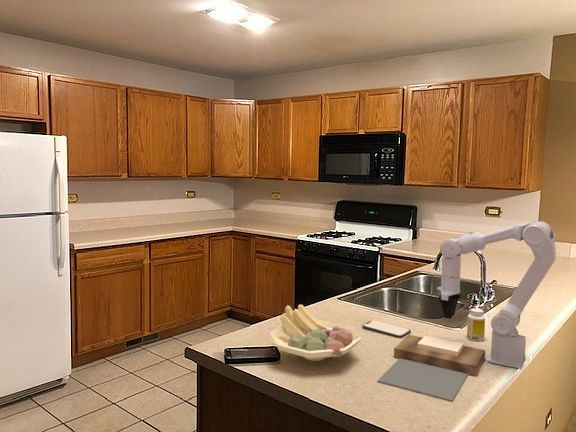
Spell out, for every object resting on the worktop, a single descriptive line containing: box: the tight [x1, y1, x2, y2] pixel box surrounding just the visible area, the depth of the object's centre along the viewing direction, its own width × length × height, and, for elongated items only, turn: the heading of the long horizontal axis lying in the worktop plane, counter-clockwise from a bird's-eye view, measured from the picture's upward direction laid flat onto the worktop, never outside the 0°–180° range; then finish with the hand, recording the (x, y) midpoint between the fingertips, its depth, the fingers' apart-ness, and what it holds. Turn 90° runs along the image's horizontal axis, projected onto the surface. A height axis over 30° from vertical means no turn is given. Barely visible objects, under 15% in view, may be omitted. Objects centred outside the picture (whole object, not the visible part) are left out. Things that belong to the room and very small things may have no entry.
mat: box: [377, 358, 469, 402], centre depth 130 cm, size 20×18×1 cm
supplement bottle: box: [466, 307, 486, 342], centre depth 160 cm, size 6×6×10 cm
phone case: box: [361, 319, 412, 339], centre depth 169 cm, size 9×2×16 cm
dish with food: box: [269, 304, 362, 362], centre depth 144 cm, size 28×28×14 cm
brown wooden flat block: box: [393, 334, 486, 377], centre depth 144 cm, size 24×14×3 cm, turn 57°
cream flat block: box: [417, 335, 465, 357], centre depth 144 cm, size 12×8×2 cm, turn 57°
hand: (449, 316), depth 152 cm, fingers open, 3 cm apart
